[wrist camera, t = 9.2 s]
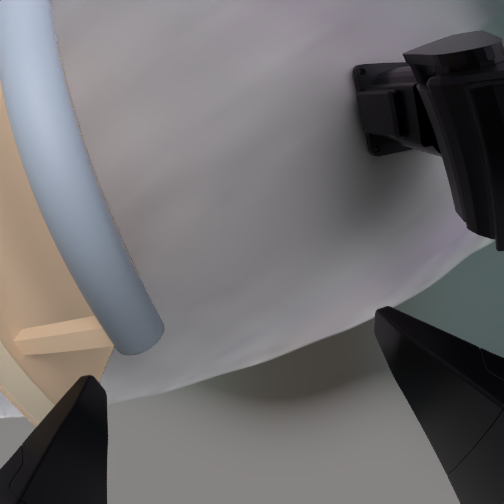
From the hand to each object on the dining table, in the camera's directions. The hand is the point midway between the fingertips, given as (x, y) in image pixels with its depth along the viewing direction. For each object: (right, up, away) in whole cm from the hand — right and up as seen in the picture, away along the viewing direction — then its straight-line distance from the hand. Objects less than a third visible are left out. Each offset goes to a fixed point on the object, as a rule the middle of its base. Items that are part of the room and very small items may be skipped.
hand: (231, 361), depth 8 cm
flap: (-10, +5, 0) cm, 11 cm away
